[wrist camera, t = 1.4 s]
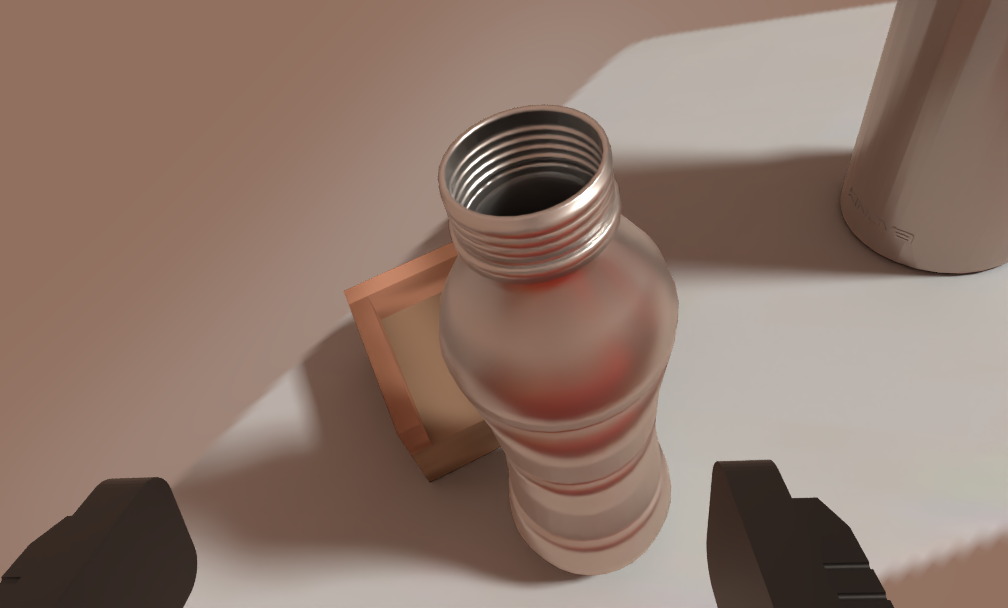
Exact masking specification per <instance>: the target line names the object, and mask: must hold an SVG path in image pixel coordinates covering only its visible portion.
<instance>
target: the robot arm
mask: <svg viewBox="0 0 1008 608" xmlns="http://www.w3.org/2000/svg"><path fill="white" fill-rule="evenodd" d="M840 207H841V211H842V214H843V218H844V220H845V221H846V223H847V225H848V226H849V228H850V230H851V231H852V232H853V233H854V234H855V235H856V236H857V237H858V238H859V239H860V240H861V241H862V242H863V243H864V244H865V245H867V246H868V247H870V248H871V249H872V250H874V251H875V252H877V253H878V254H880V255H882V256H885V257H887V258H889V259H891V260H893V261H895V262H897V263H900V264H904V265H907V266H910V267H913V268H916V269H921V270H927V271H933V272H939V273H968V272H977V271H984V270H987V269H991V268H994V267H998V266H1001V265H1003V264H1005V263H1007V262H1008V0H898V1H897V4H896V8H895V11H894V14H893V18H892V21H891V25H890V28H889V32H888V35H887V38H886V42H885V45H884V49H883V52H882V55H881V59H880V62H879V66H878V69H877V72H876V76H875V79H874V83H873V86H872V90H871V93H870V96H869V100H868V103H867V107H866V110H865V113H864V117H863V120H862V124H861V127H860V131H859V134H858V137H857V140H856V144H855V147H854V150H853V154H852V157H851V161H850V164H849V167H848V171H847V174H846V178H845V181H844V185H843V188H842V191H841V200H840ZM707 561H708V569H709V575H710V580H711V585H712V589H713V592H714V596H715V599H716V603H717V607H718V608H894V607H893V605H892V603H891V601H890V600H887V598H886V592H885V590H884V588H883V587H882V585H881V583H880V581H879V579H878V577H877V576H876V574H875V572H874V570H873V569H870V567H869V561H868V559H867V558H866V556H865V554H864V552H863V550H862V548H861V547H860V545H859V543H858V541H857V539H856V538H855V536H854V534H853V532H852V530H851V528H850V527H849V526H848V525H847V524H846V523H845V522H844V521H843V520H841V519H840V518H839V517H838V516H837V515H836V514H835V513H834V512H833V511H831V510H830V509H829V508H828V507H827V506H826V505H825V504H824V503H823V502H821V501H820V500H819V499H818V498H791V495H790V493H789V491H788V489H787V487H786V485H785V483H784V481H783V479H782V476H781V474H780V472H779V470H778V468H777V466H776V465H775V463H774V462H773V461H772V460H748V461H717V462H715V464H714V466H713V472H712V482H711V494H710V506H709V517H708V529H707ZM196 573H197V555H196V550H195V547H194V544H193V542H192V540H191V537H190V535H189V532H188V530H187V527H186V525H185V522H184V520H183V518H182V515H181V513H180V510H179V508H178V505H177V503H176V500H175V498H174V496H173V493H172V491H171V488H170V486H169V484H168V483H167V482H166V481H165V480H164V479H162V478H158V477H153V478H120V479H107V480H105V481H103V482H101V483H100V484H99V485H98V486H97V487H96V488H95V489H94V490H93V491H92V493H91V494H90V495H89V496H88V497H87V499H86V500H85V501H84V502H83V504H82V505H81V506H80V507H79V508H78V510H77V511H76V512H75V513H74V514H73V515H72V516H67V517H65V518H64V519H63V520H61V521H60V522H59V523H58V524H56V525H55V526H53V527H52V528H51V529H49V530H48V531H47V532H46V533H44V534H43V535H42V536H40V537H39V538H37V539H36V540H35V541H34V542H32V543H31V544H30V545H29V546H28V547H27V548H26V549H25V550H24V552H23V553H22V554H21V555H20V556H19V557H18V558H17V560H16V561H15V562H14V563H13V564H12V565H11V567H10V568H9V569H8V570H7V571H6V573H5V574H4V575H3V576H2V577H1V578H2V581H1V583H0V608H183V606H184V605H185V603H186V601H187V599H188V597H189V595H190V593H191V591H192V588H193V586H194V582H195V578H196Z"/></svg>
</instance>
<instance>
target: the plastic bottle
mask: <svg viewBox="0 0 1008 608" xmlns="http://www.w3.org/2000/svg"><path fill="white" fill-rule="evenodd" d="M438 182H439V189H440V194H441V198H442V201H443V204H444V206H445V209H446V212H447V214H448V217H449V224H448V225H449V230H450V235H451V238H452V241H453V244H454V246H455V249H456V251H457V253H458V256H457V258H456V260H455V262H454V264H453V266H452V268H451V270H450V272H449V275H448V277H447V279H446V281H445V284H444V288H443V291H442V294H441V298H440V312H439V334H438V336H439V342H440V348H441V354H442V356H443V359H444V361H445V363H446V365H447V368H448V370H449V372H450V374H451V375H452V377H453V378H454V380H455V382H456V384H457V385H458V387H459V389H460V390H461V391H462V392H463V394H464V395H465V396H466V397H467V399H468V400H469V401H470V402H471V403H472V405H473V406H474V407H475V408H476V410H477V411H478V412H479V414H480V415H481V416H482V417H483V419H484V420H485V421H486V422H487V424H488V425H489V426H490V427H491V429H492V431H493V433H494V435H495V437H496V438H497V440H498V442H499V444H500V446H501V448H502V449H503V452H504V454H505V456H506V460H507V465H508V470H509V476H508V490H509V500H510V507H511V511H512V516H513V520H514V522H515V524H516V527H517V529H518V531H519V533H520V535H521V536H522V537H523V539H524V540H525V541H526V543H527V544H528V546H530V547H531V548H532V549H533V550H534V551H535V552H536V553H537V554H539V555H540V556H541V557H542V558H543V559H545V560H546V561H547V562H549V563H551V564H552V565H554V566H556V567H558V568H559V569H561V570H564V571H568V572H571V573H574V574H581V575H600V574H607V573H610V572H613V571H616V570H620V569H622V568H623V567H625V566H627V565H629V564H631V563H633V562H634V561H635V560H636V559H638V558H639V557H640V556H641V555H642V554H643V553H645V552H646V550H647V549H648V548H649V546H650V545H651V544H652V543H653V541H654V540H655V538H656V537H657V535H658V533H659V531H660V529H661V527H662V525H663V523H664V521H665V519H666V517H667V514H668V510H669V506H670V502H671V482H670V476H669V470H668V467H667V463H666V459H665V456H664V454H663V451H662V449H661V446H660V444H659V442H658V438H657V432H656V426H655V421H656V413H657V404H658V395H659V390H660V387H661V384H662V380H663V377H664V374H665V370H666V367H667V364H668V361H669V358H670V355H671V351H672V348H673V344H674V341H675V335H676V328H677V323H678V307H679V300H678V296H677V291H676V286H675V282H674V280H673V278H672V275H671V273H670V271H669V269H668V266H667V264H666V262H665V260H664V258H663V256H662V254H661V252H660V250H659V248H658V247H657V245H656V244H655V243H654V242H653V241H652V239H651V238H650V237H649V236H648V235H647V234H646V233H645V232H644V231H642V230H641V229H640V228H639V227H637V226H636V225H635V224H633V223H632V222H631V221H629V220H628V219H627V218H625V217H624V216H623V215H621V200H620V192H619V186H618V184H617V181H616V179H615V177H614V172H613V159H612V152H611V146H610V144H609V141H608V137H607V135H606V133H605V131H604V129H603V128H602V127H601V126H600V125H599V124H598V122H597V121H596V120H594V119H593V118H591V117H590V116H588V115H587V114H585V113H583V112H580V111H578V110H575V109H573V108H568V107H563V106H558V105H529V106H523V107H518V108H513V109H509V110H506V111H503V112H499V113H497V114H494V115H492V116H490V117H487V118H485V119H483V120H482V121H480V122H478V123H476V124H475V125H473V126H471V127H470V128H468V129H467V130H466V131H465V132H463V133H462V134H461V135H460V136H459V137H458V138H457V139H456V140H455V141H454V142H453V143H452V144H451V145H450V147H449V148H448V150H447V151H446V153H445V154H444V156H443V158H442V161H441V164H440V166H439V172H438Z"/></svg>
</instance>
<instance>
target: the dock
mask: <svg viewBox="0 0 1008 608" xmlns="http://www.w3.org/2000/svg"><path fill="white" fill-rule="evenodd" d="M457 256H458V253H457V251H456V249H455V246H454V244H453V242H451V243H449V244H447V245H445V246H442V247H440V248H438V249H436V250H434V251H431V252H429V253H427V254H425V255H422V256H420V257H418V258H416V259H414V260H411V261H409V262H407V263H405V264H403V265H400V266H398V267H396V268H394V269H391V270H389V271H387V272H385V273H383V274H381V275H378V276H376V277H374V278H371V279H369V280H367V281H365V282H363V283H361V284H358V285H356V286H354V287H352V288H349V289H347V290H345V291H344V293H345V295H346V298H347V301H348V303H349V306H350V309H351V311H352V314H353V317H354V319H355V322H356V325H357V328H358V330H359V333H360V336H361V338H362V341H363V344H364V346H365V349H366V352H367V354H368V357H369V360H370V362H371V365H372V368H373V370H374V373H375V376H376V378H377V381H378V384H379V386H380V389H381V392H382V394H383V397H384V400H385V402H386V405H387V408H388V410H389V413H390V416H391V418H392V421H393V424H394V426H395V429H396V432H397V434H398V436H399V438H400V439H401V440H402V442H403V443H404V445H405V446H406V448H407V449H408V451H409V452H410V454H411V455H412V457H413V458H414V460H415V461H416V463H417V464H418V466H419V467H420V469H421V470H422V472H423V473H424V475H425V476H426V477H427V479H428V480H429V482H431V481H433V480H435V479H437V478H439V477H441V476H443V475H445V474H447V473H449V472H451V471H453V470H455V469H457V468H460V467H462V466H464V465H466V464H468V463H470V462H472V461H474V460H476V459H478V458H480V457H482V456H484V455H486V454H488V453H490V452H492V451H494V450H496V449H498V448H500V447H501V446H500V444H499V442H498V440H497V438H496V437H495V435H494V433H493V431H492V429H491V427H490V426H489V425H488V424H487V422H486V421H485V420H484V419H483V417H482V416H481V415H480V414H479V412H478V411H477V410H476V408H475V407H474V406H473V405H472V403H471V402H470V401H469V400H468V399H467V397H466V396H465V395H464V394H463V392H462V391H461V390H460V389H459V387H458V385H457V384H456V382H455V380H454V378H453V377H452V375H451V374H450V372H449V370H448V368H447V365H446V363H445V361H444V359H443V356H442V354H441V348H440V342H439V336H438V334H439V312H440V298H441V294H442V291H443V288H444V284H445V281H446V279H447V277H448V275H449V272H450V270H451V268H452V266H453V264H454V262H455V260H456V258H457Z"/></svg>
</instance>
